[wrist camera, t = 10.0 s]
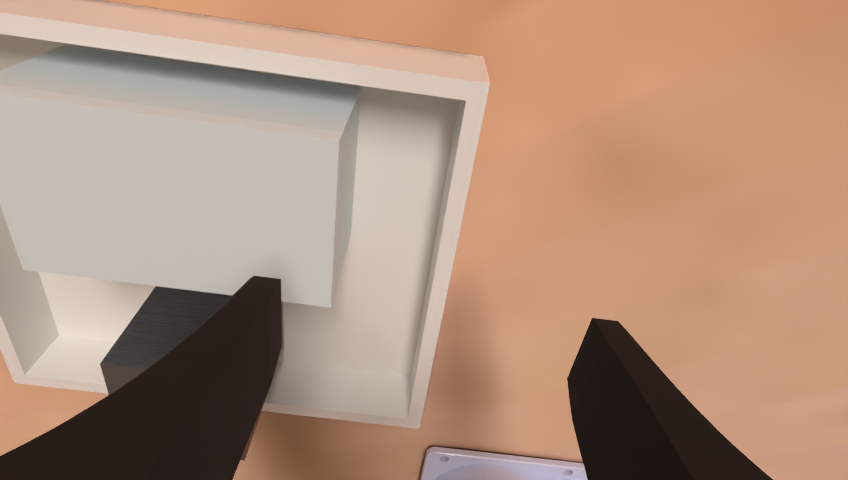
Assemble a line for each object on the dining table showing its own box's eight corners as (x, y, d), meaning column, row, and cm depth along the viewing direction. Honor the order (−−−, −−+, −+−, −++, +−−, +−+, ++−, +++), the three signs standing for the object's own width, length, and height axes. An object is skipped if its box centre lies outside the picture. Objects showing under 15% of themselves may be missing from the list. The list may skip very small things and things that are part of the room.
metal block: (282, 271, 23) (237, 379, 18) (283, 346, 25) (244, 460, 20) (175, 258, 23) (99, 364, 18) (187, 335, 25) (123, 447, 20)
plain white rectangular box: (361, 87, 18) (339, 140, 15) (351, 233, 22) (330, 307, 18) (63, 45, 18) (-41, 88, 14) (99, 200, 21) (22, 269, 17)
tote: (483, 56, 18) (489, 83, 16) (421, 378, 27) (419, 428, 24) (-65, -25, 17) (-151, -10, 15) (55, 335, 26) (14, 382, 24)
